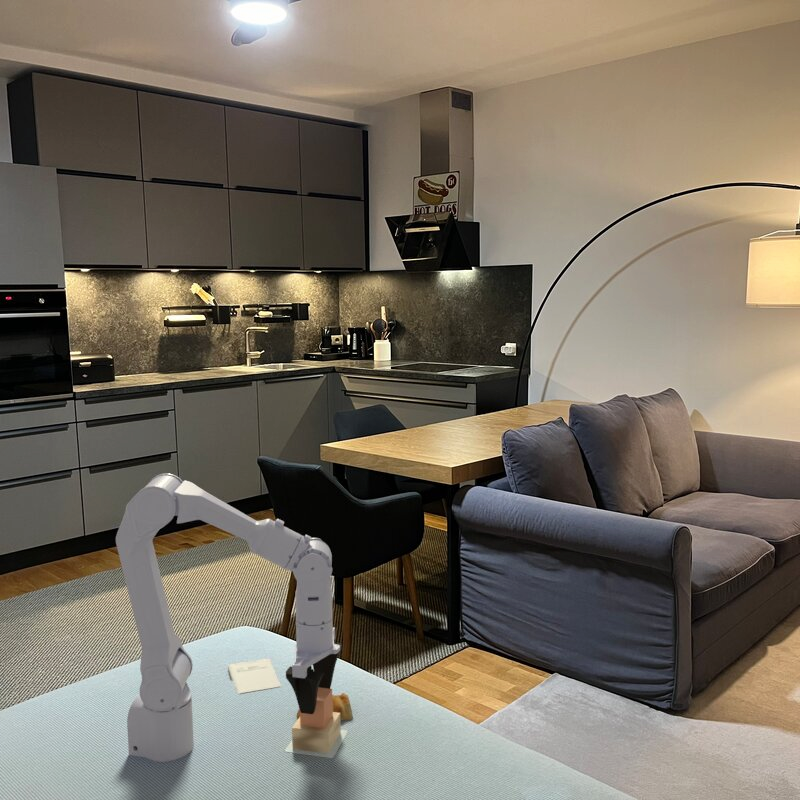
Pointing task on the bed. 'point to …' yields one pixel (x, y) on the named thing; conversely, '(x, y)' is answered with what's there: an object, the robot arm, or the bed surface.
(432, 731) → the bed surface
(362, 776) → the bed surface
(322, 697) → the top block
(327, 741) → the base block
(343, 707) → the pastry
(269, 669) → the external hard drive
